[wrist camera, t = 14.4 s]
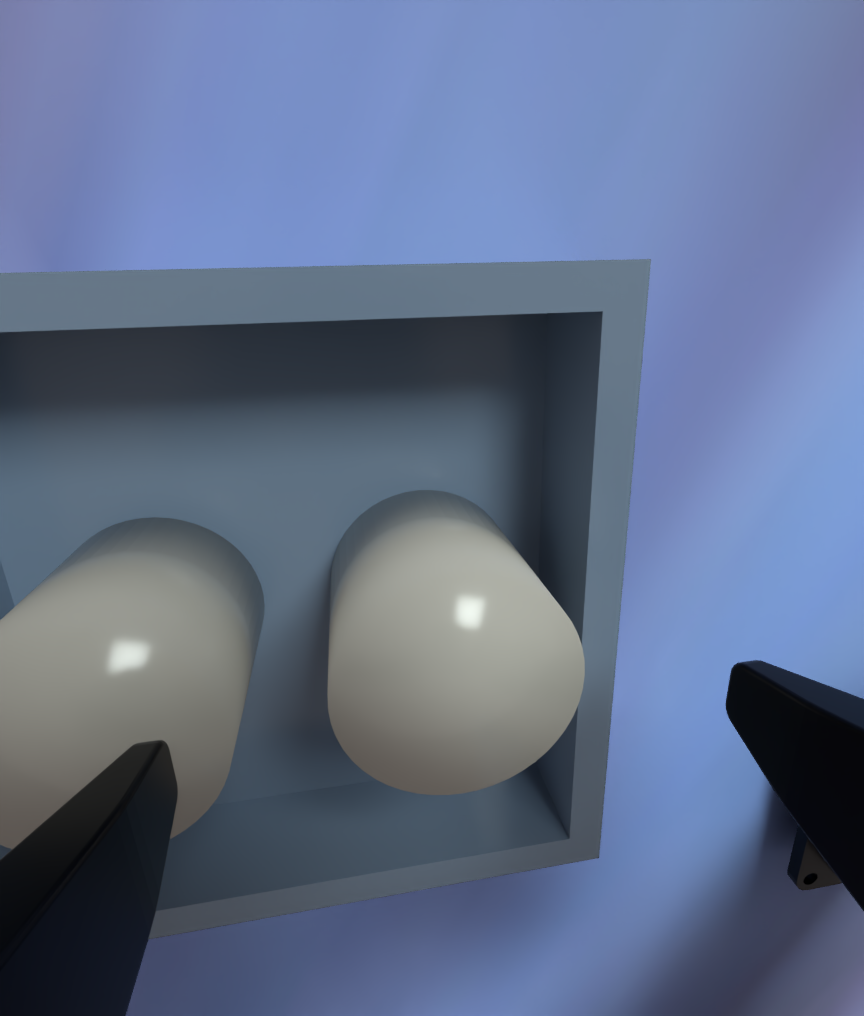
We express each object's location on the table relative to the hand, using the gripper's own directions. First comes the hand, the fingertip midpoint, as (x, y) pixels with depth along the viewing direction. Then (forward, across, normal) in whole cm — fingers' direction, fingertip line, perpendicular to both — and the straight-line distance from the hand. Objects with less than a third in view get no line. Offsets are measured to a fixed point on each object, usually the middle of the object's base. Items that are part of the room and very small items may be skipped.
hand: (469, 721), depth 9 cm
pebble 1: (+5, +6, 0) cm, 8 cm away
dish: (+6, +3, 0) cm, 6 cm away
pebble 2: (+5, 0, 0) cm, 5 cm away
